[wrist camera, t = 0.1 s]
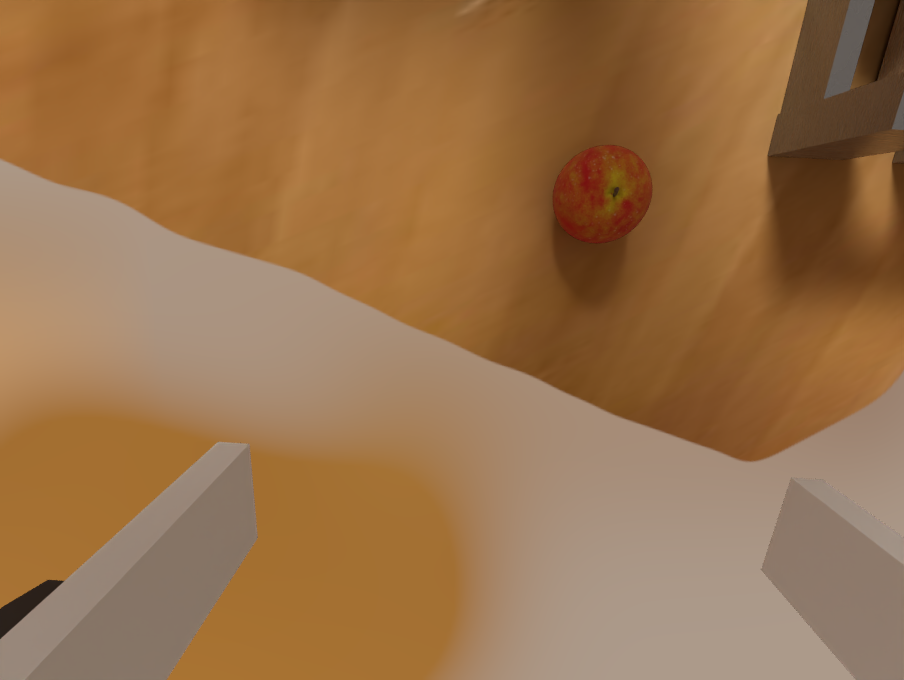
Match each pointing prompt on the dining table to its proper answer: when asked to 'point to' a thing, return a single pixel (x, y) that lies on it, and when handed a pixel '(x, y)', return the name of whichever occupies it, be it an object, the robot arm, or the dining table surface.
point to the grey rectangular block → (894, 48)
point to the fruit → (602, 194)
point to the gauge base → (837, 92)
